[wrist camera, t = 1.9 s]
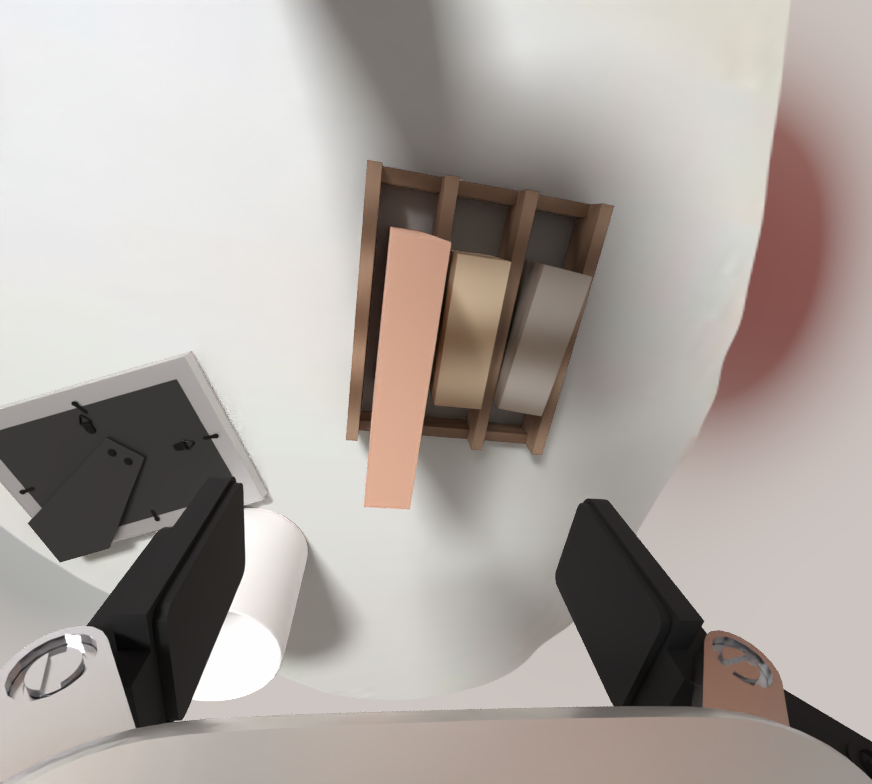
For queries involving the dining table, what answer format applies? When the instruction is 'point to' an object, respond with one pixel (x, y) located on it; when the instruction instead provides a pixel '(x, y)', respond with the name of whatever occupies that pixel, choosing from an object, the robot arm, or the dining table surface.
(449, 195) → the offcut rack
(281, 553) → the cup
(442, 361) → the birch offcut
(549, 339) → the grey offcut
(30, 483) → the picture frame
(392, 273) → the plywood sheet
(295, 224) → the dining table surface
